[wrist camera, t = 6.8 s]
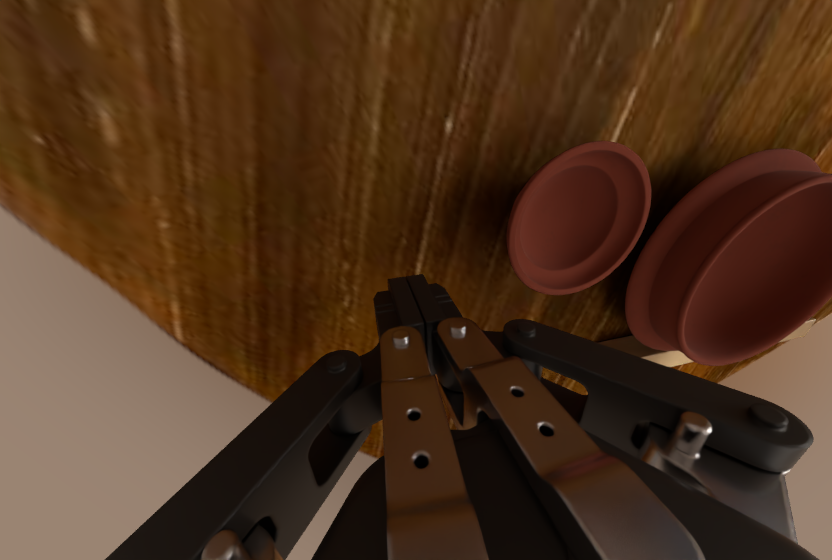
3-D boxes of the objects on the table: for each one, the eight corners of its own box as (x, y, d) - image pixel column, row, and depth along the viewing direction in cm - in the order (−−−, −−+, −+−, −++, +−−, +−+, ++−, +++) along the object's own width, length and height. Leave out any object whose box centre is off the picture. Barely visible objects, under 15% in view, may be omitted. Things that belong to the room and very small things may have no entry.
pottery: (690, 339, 23) (761, 383, 19) (443, 301, 16) (474, 355, 13) (812, 179, 18) (938, 194, 14) (538, 43, 12) (630, 6, 8)
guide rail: (589, 360, 21) (611, 381, 20) (594, 342, 21) (617, 362, 19) (771, 321, 24) (805, 336, 22) (781, 304, 23) (816, 319, 21)
